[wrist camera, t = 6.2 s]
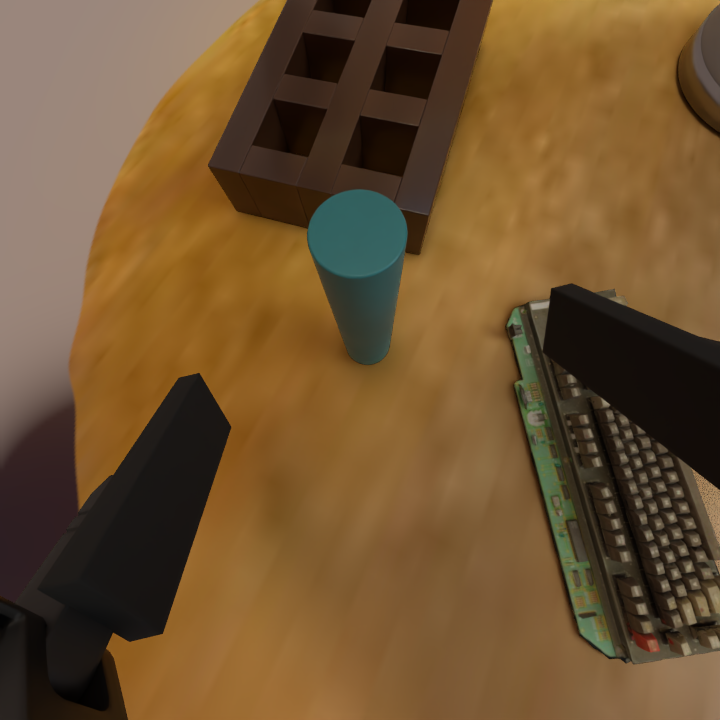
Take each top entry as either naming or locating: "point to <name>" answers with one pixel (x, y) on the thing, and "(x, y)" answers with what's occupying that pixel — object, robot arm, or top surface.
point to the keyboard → (616, 512)
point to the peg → (360, 267)
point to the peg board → (352, 107)
